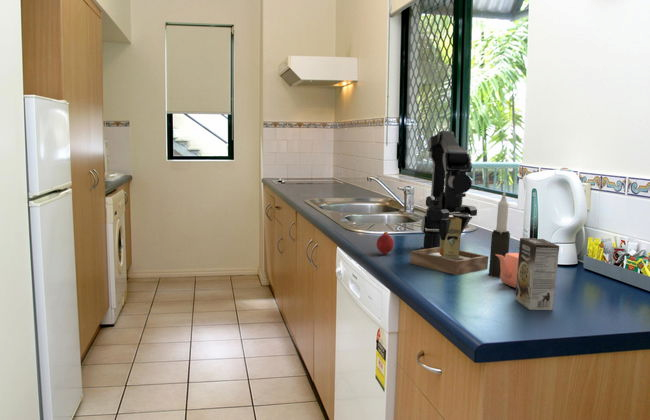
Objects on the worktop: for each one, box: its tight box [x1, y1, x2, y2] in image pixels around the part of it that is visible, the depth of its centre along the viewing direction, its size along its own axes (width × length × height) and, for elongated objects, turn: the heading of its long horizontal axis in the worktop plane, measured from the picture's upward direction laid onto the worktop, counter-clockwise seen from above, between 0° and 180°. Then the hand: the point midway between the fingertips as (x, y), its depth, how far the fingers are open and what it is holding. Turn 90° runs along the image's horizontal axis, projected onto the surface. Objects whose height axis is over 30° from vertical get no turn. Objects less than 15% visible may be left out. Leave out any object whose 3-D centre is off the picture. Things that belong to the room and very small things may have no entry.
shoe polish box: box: [439, 216, 462, 257], centre depth 193 cm, size 5×5×12 cm
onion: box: [376, 231, 395, 255], centre depth 208 cm, size 6×6×8 cm
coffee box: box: [514, 237, 560, 311], centre depth 152 cm, size 9×6×16 cm
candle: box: [488, 192, 511, 278], centre depth 183 cm, size 5×5×25 cm
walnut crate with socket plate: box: [409, 247, 489, 276], centre depth 194 cm, size 16×18×4 cm
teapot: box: [496, 252, 519, 289], centre depth 170 cm, size 12×18×10 cm, turn 107°
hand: (450, 238), depth 193 cm, fingers closed on shoe polish box, 7 cm apart
